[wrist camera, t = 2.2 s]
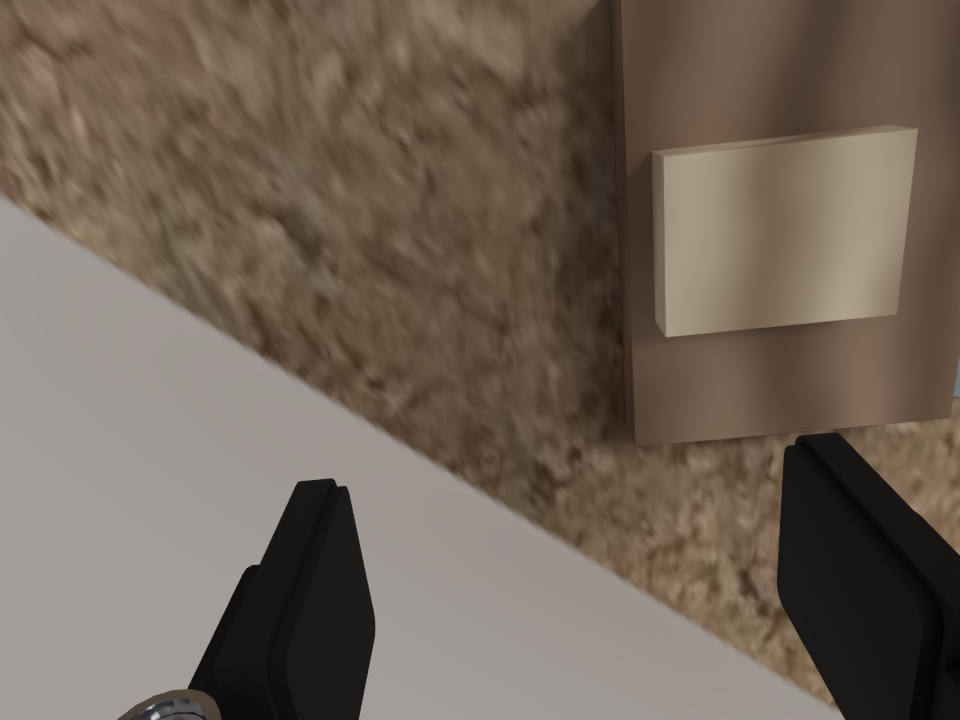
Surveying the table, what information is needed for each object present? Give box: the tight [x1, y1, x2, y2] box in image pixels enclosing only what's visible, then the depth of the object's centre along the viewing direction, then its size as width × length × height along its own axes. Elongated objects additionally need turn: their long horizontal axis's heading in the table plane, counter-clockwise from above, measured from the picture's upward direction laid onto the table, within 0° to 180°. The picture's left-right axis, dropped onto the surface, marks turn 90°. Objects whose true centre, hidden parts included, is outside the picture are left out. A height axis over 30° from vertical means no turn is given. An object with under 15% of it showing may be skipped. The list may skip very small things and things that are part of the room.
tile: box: [652, 125, 918, 337], centre depth 28 cm, size 9×7×2 cm
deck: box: [610, 0, 960, 447], centre depth 30 cm, size 14×19×2 cm
